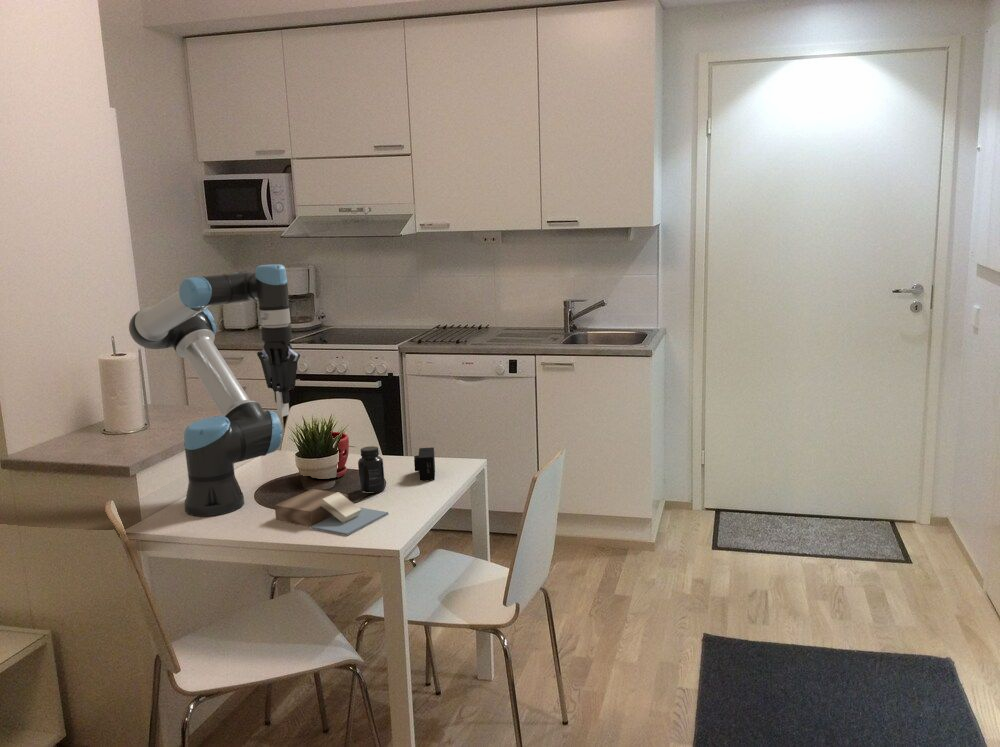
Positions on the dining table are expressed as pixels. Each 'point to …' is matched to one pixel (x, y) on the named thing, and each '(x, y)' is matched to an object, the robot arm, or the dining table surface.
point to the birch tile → (340, 507)
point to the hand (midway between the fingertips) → (283, 415)
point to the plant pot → (342, 446)
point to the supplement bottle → (371, 470)
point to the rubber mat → (350, 522)
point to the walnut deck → (304, 508)
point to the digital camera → (425, 464)
